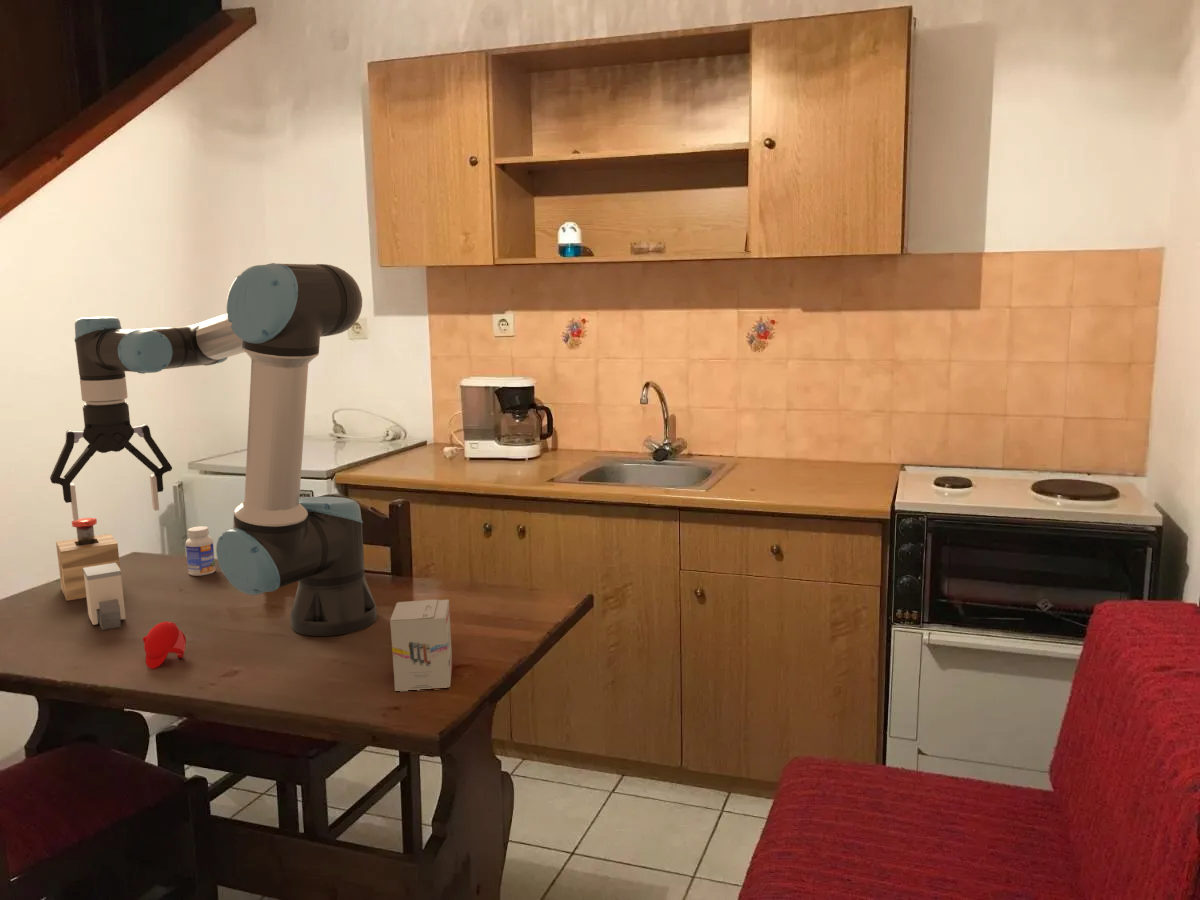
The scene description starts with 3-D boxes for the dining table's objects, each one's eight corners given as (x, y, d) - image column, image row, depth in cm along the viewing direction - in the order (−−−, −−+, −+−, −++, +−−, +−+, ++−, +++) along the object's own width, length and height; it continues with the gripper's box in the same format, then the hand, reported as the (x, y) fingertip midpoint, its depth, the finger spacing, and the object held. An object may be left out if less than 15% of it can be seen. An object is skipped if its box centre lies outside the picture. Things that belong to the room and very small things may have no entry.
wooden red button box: (122, 591, 195) (117, 543, 193) (66, 600, 189) (60, 551, 187) (115, 579, 202) (110, 533, 200) (61, 588, 197) (55, 541, 195)
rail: (120, 626, 175) (118, 600, 174) (102, 630, 173) (99, 603, 172) (103, 594, 193) (100, 570, 192) (86, 597, 191) (83, 573, 190)
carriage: (126, 618, 178) (120, 570, 176) (92, 625, 174) (87, 576, 173) (120, 609, 182) (115, 562, 181) (88, 615, 179) (82, 567, 178)
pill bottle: (205, 577, 203) (201, 532, 202) (182, 575, 204) (178, 531, 203) (220, 569, 209) (217, 525, 207) (198, 568, 210) (194, 524, 208)
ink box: (399, 670, 155) (396, 599, 152) (453, 667, 155) (450, 597, 153) (392, 692, 146) (389, 618, 144) (449, 690, 147) (446, 616, 145)
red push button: (100, 544, 193) (97, 521, 192) (75, 548, 191) (73, 524, 190) (97, 539, 197) (94, 516, 196) (73, 543, 194) (70, 520, 194)
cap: (155, 631, 164) (132, 624, 158) (187, 620, 163) (165, 613, 158) (159, 676, 160) (136, 671, 155) (192, 665, 160) (169, 660, 154)
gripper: (174, 394, 187) (184, 501, 191) (25, 404, 174) (39, 519, 178) (181, 398, 181) (191, 508, 185) (27, 409, 168) (41, 527, 171)
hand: (116, 514), depth 181 cm, fingers open, 13 cm apart
